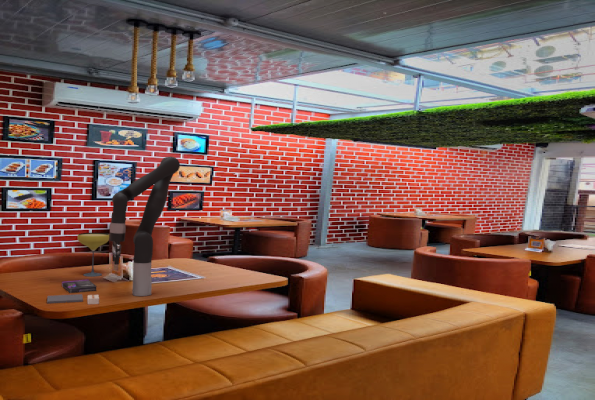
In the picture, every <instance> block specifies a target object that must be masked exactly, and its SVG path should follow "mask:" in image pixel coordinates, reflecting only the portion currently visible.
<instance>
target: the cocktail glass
mask: <svg viewBox="0 0 595 400" xmlns="http://www.w3.org/2000/svg"><path fill="white" fill-rule="evenodd" d="M109 239H110V233H106V232H105V233H104V232H82V233H78V234H77V241H78V242H79V243H80V244H81V245H84V246H86V247H88V248H89V249H90V251H92V259H91V261H92V262H91V263H92V264H91V272H88V273H83V277H88V278H89V277H91V278H92V277H94V278H95V277H100V276H102V275H103V273H102V272H101V273H100V272H95V269H94V267H95V266H94V261H95V260H94V255H95V252H94V251H96V250H97V249H98V248H99V247H101V246H103V245H105V244H107V243H108V242H109V241H110V240H109Z"/></svg>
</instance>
